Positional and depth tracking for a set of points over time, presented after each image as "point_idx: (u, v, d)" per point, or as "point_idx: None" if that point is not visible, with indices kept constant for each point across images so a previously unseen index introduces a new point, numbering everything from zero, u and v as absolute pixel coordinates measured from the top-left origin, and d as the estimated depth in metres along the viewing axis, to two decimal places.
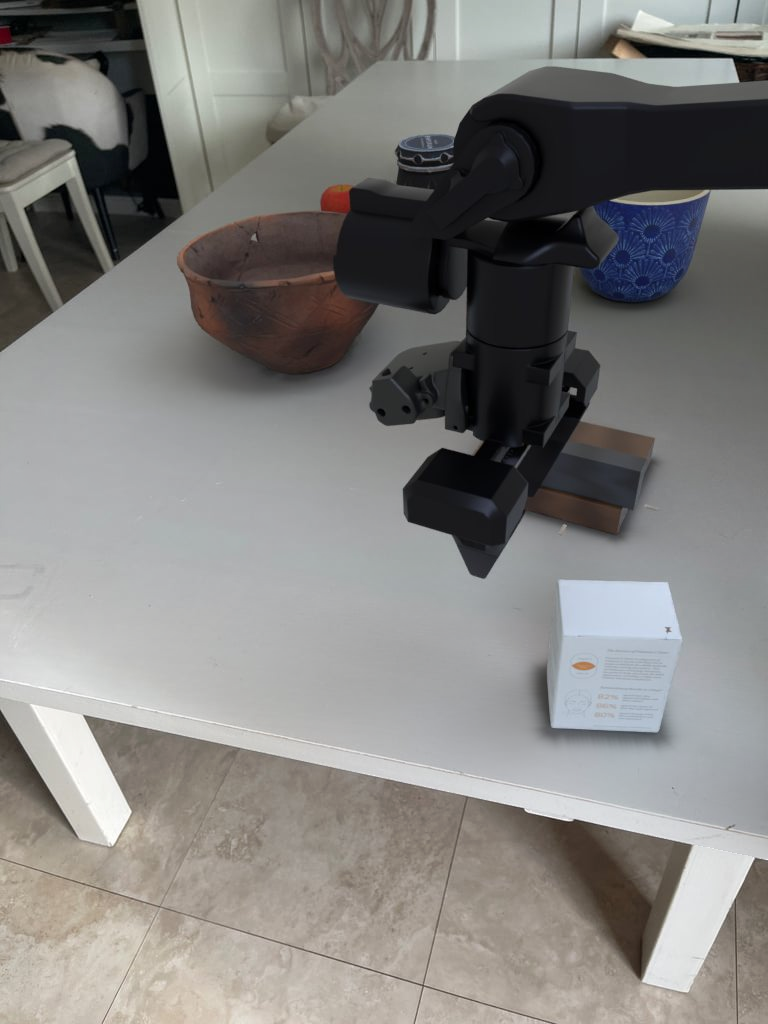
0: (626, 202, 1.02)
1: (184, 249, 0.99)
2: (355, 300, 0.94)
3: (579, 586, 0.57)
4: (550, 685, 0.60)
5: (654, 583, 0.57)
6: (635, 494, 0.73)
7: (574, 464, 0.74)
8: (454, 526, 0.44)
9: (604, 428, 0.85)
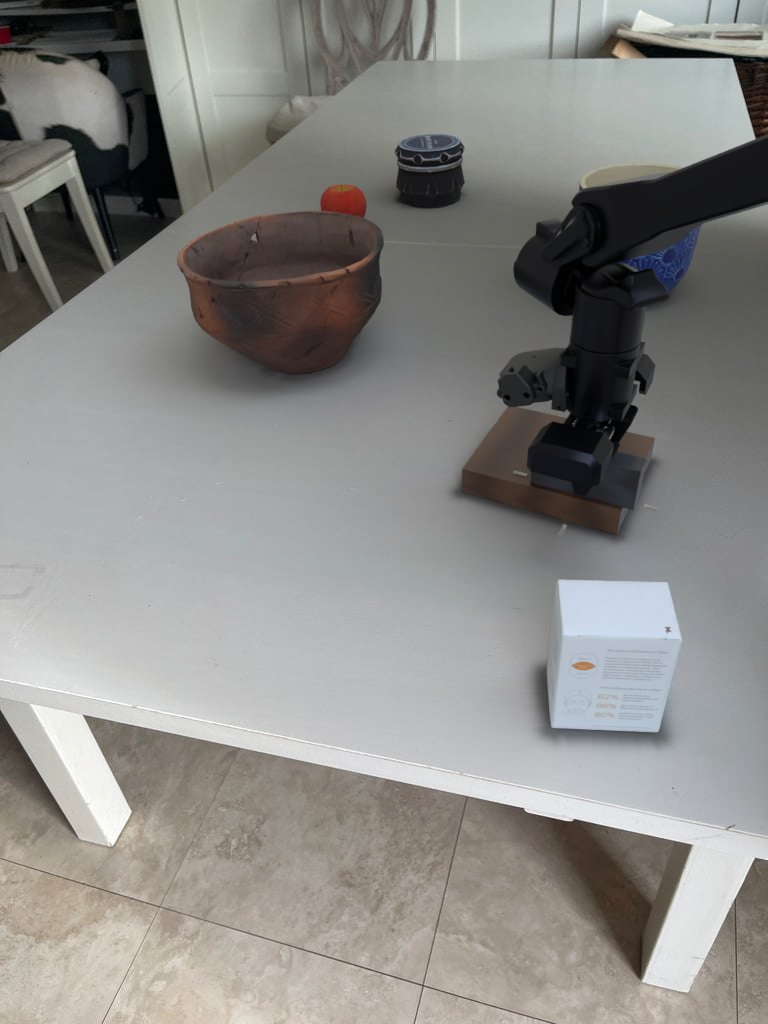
0: None
1: (184, 249, 0.99)
2: (355, 300, 0.94)
3: (579, 586, 0.57)
4: (550, 685, 0.60)
5: (654, 583, 0.57)
6: (635, 494, 0.73)
7: None
8: (564, 473, 0.65)
9: None
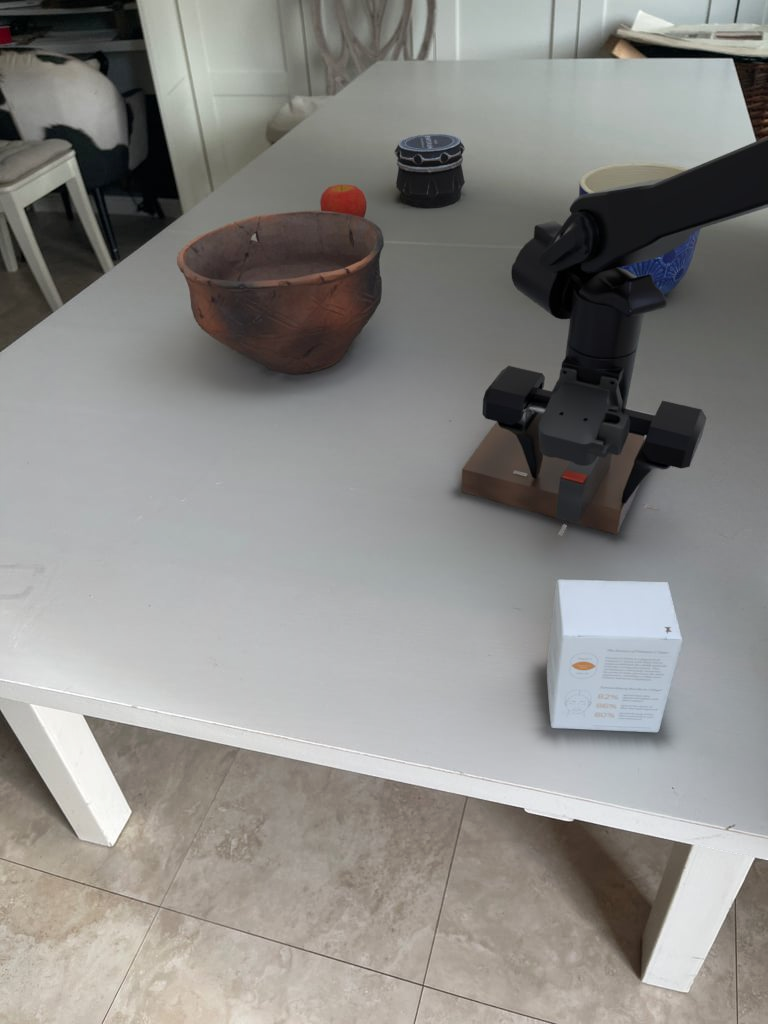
0: None
1: (184, 249, 0.99)
2: (355, 300, 0.94)
3: (579, 586, 0.57)
4: (550, 685, 0.60)
5: (654, 583, 0.57)
6: None
7: (596, 468, 0.74)
8: (698, 442, 0.69)
9: None
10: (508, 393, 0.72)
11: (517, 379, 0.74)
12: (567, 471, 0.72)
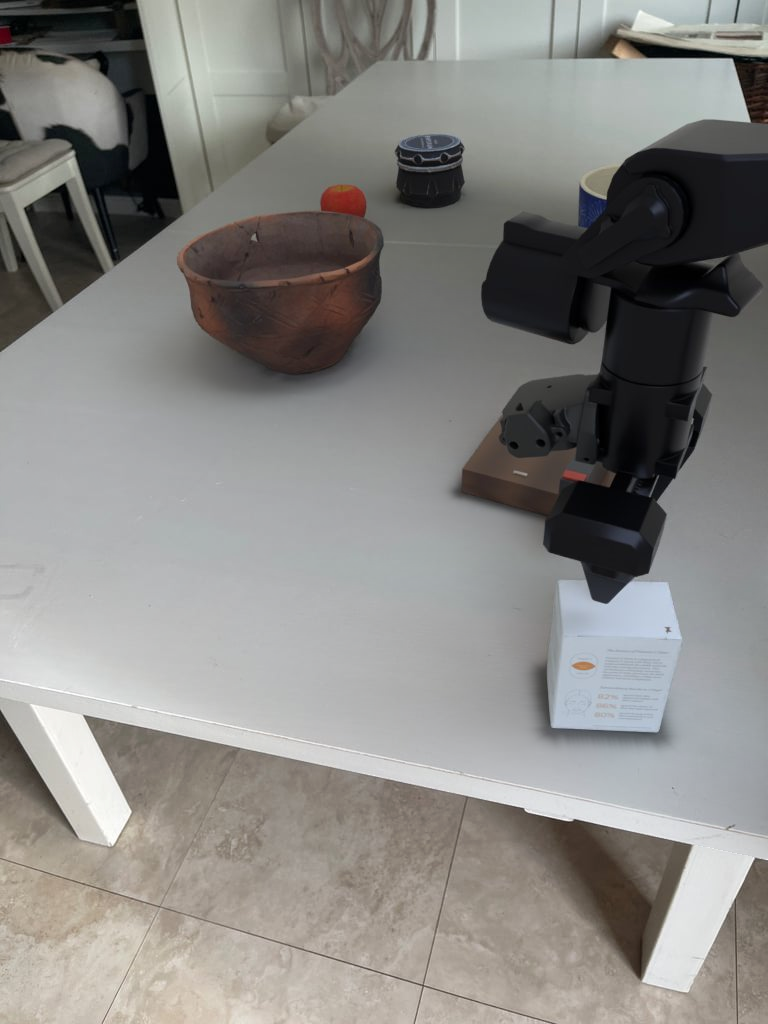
0: None
1: (184, 249, 0.99)
2: (355, 300, 0.94)
3: (579, 586, 0.57)
4: (550, 685, 0.60)
5: (654, 583, 0.57)
6: None
7: (596, 468, 0.74)
8: (598, 557, 0.46)
9: None
10: None
11: None
12: (567, 471, 0.72)
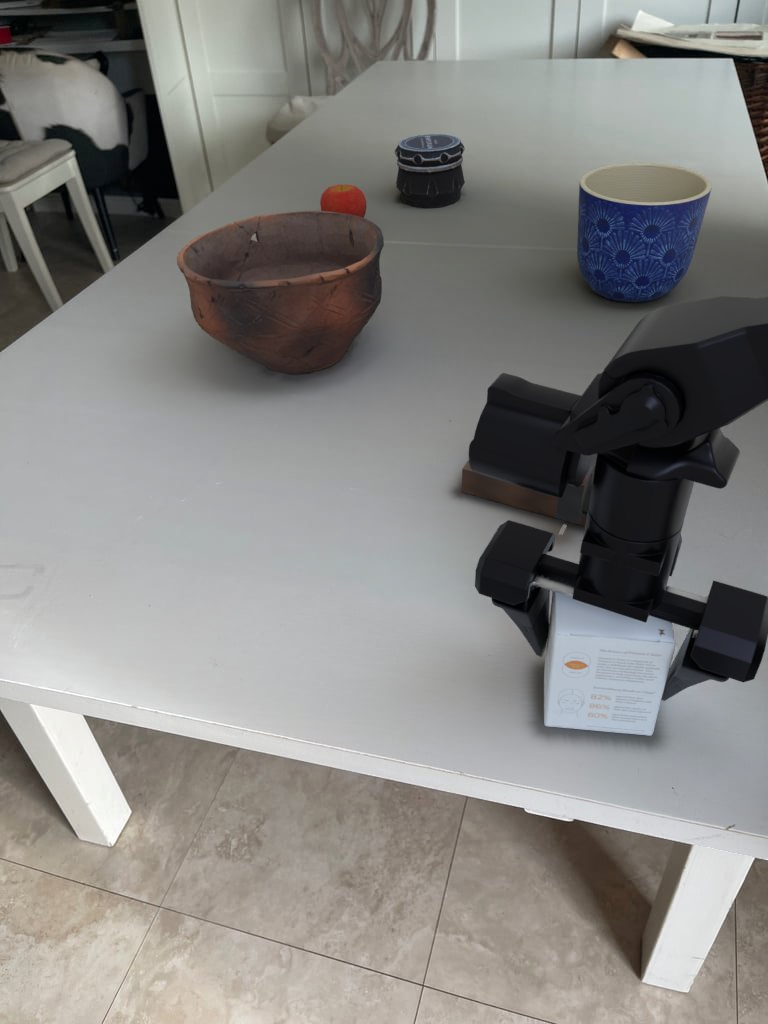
0: (626, 202, 1.02)
1: (184, 249, 0.99)
2: (355, 300, 0.94)
3: None
4: (545, 683, 0.60)
5: None
6: None
7: None
8: None
9: None
10: (739, 588, 0.52)
11: (734, 612, 0.51)
12: None
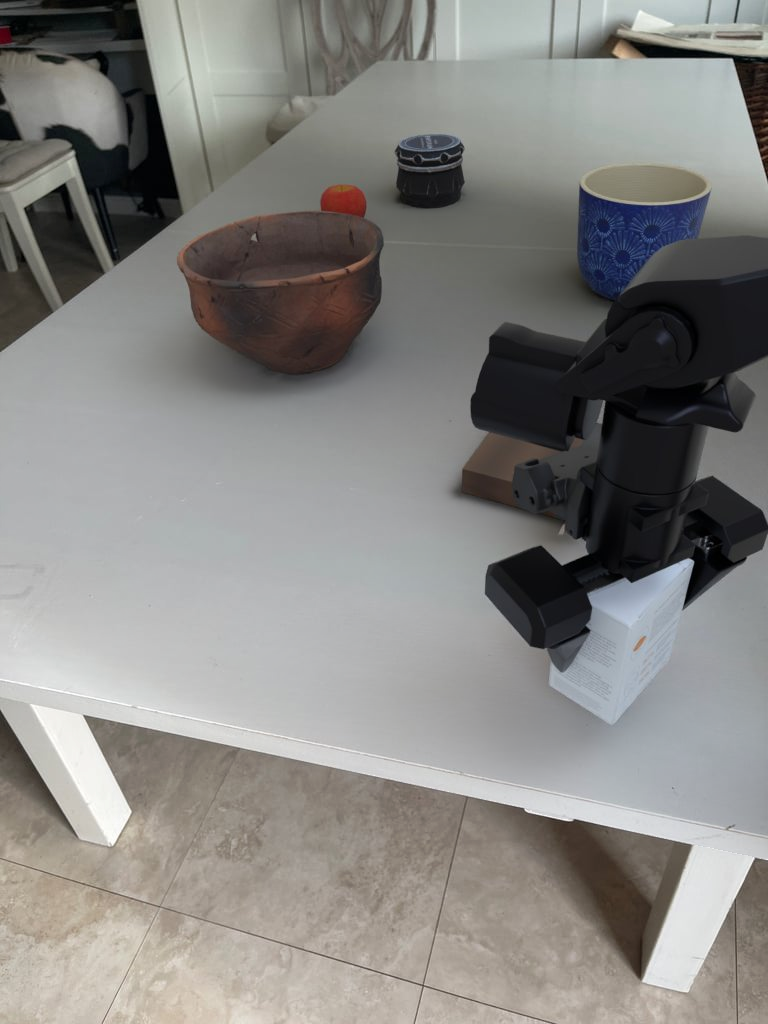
0: (626, 202, 1.02)
1: (184, 249, 0.99)
2: (355, 300, 0.94)
3: None
4: (587, 689, 0.56)
5: None
6: None
7: None
8: (510, 615, 0.49)
9: None
10: None
11: (720, 501, 0.53)
12: None
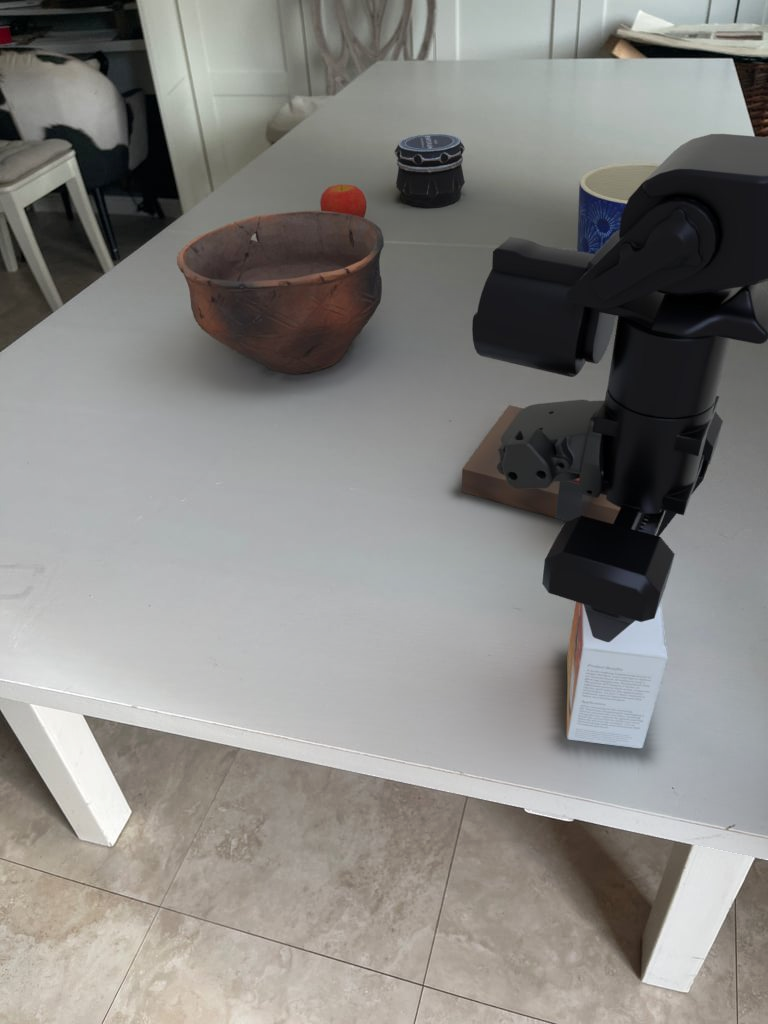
0: (626, 202, 1.02)
1: (184, 249, 0.99)
2: (355, 300, 0.94)
3: None
4: (616, 727, 0.57)
5: None
6: None
7: None
8: (601, 600, 0.43)
9: None
10: None
11: None
12: None
